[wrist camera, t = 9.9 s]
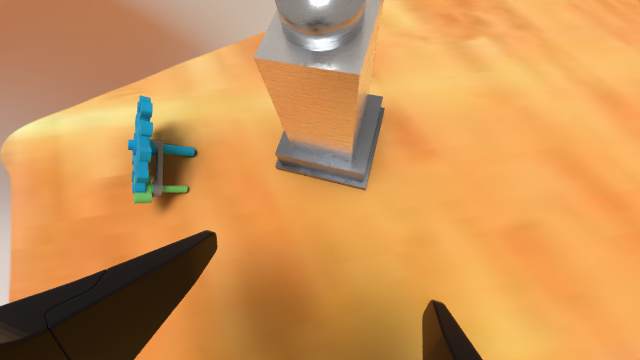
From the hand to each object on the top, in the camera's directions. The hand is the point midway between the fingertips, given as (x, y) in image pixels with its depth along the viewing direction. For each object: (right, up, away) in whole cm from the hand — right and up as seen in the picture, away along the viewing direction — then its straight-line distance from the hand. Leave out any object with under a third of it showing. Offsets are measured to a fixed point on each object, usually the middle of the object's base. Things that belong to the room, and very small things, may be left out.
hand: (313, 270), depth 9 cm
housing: (+1, +9, +14) cm, 17 cm away
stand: (+2, +8, +17) cm, 19 cm away
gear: (-18, +5, +18) cm, 26 cm away
